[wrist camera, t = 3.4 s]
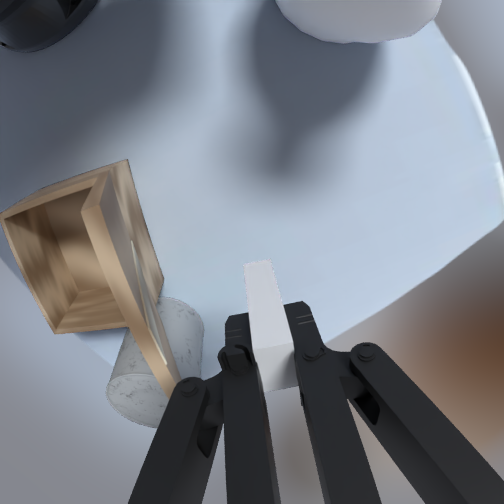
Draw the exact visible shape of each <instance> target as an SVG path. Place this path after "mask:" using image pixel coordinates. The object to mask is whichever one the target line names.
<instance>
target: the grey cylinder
mask: <svg viewBox="0 0 504 504" xmlns="http://www.w3.org/2000/svg"><path fill="white" fill-rule="evenodd" d="M156 308H157V311H158V313H159V316H160V318H161V320H162V323H163V326H164V329H165V332H166V336H167V339H168V342H169V345H170V348H171V351H172V354H173V356H174V359H175V362H176V365H177V368H178V371H179V373H180V376H181V379H185V378H187V377H198V378H200V373H201V357H202V342H203V335H204V326H203V322H202V320H201V318H200V316H199V315H198V314H197V312H196V311H195V310H194V309H193V308H191V307H190V306H189V305H187V304H185V303H184V302H182V301H179V300H176V299H173V298H167V297H158V301H157V304H156ZM106 395H107V399H108V401H109V402H110V404H111V406H112V407H113V408H114V409H115V410H116V411H117V412H118V413H120V414H121V415H122V416H124V417H126V418H127V419H129V420H131V421H133V422H135V423H138V424H141V425H144V426H148V427H152V428H158V426H159V424H160V421H161V419H162V416H163V414H164V411H165V409H166V407H167V404H168V402H169V399H168V397H167V396H166V394H165V393H164V391H163V389H162V388H161V386H160V384H159V382H158V381H157V379H156V377H155V376H154V374H153V372H152V370H151V369H150V367H149V365H148V363H147V361H146V360H145V358H144V356H143V354H142V352H141V350H140V348H139V347H138V345H137V343H136V341H135V339H134V337H133V335H132V333H131V331H130V329H129V327H128V328H127V331H126V334H125V337H124V340H123V342H122V345H121V348H120V351H119V354H118V357H117V360H116V363H115V366H114V369H113V372H112V375H111V378H110V381H109V383H108V385H107V388H106Z"/></svg>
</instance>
